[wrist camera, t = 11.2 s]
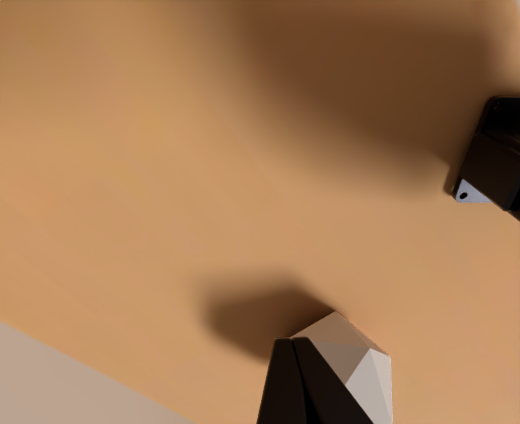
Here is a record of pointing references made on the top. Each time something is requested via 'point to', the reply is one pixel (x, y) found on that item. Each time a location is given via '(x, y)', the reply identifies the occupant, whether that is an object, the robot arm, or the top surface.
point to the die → (355, 364)
